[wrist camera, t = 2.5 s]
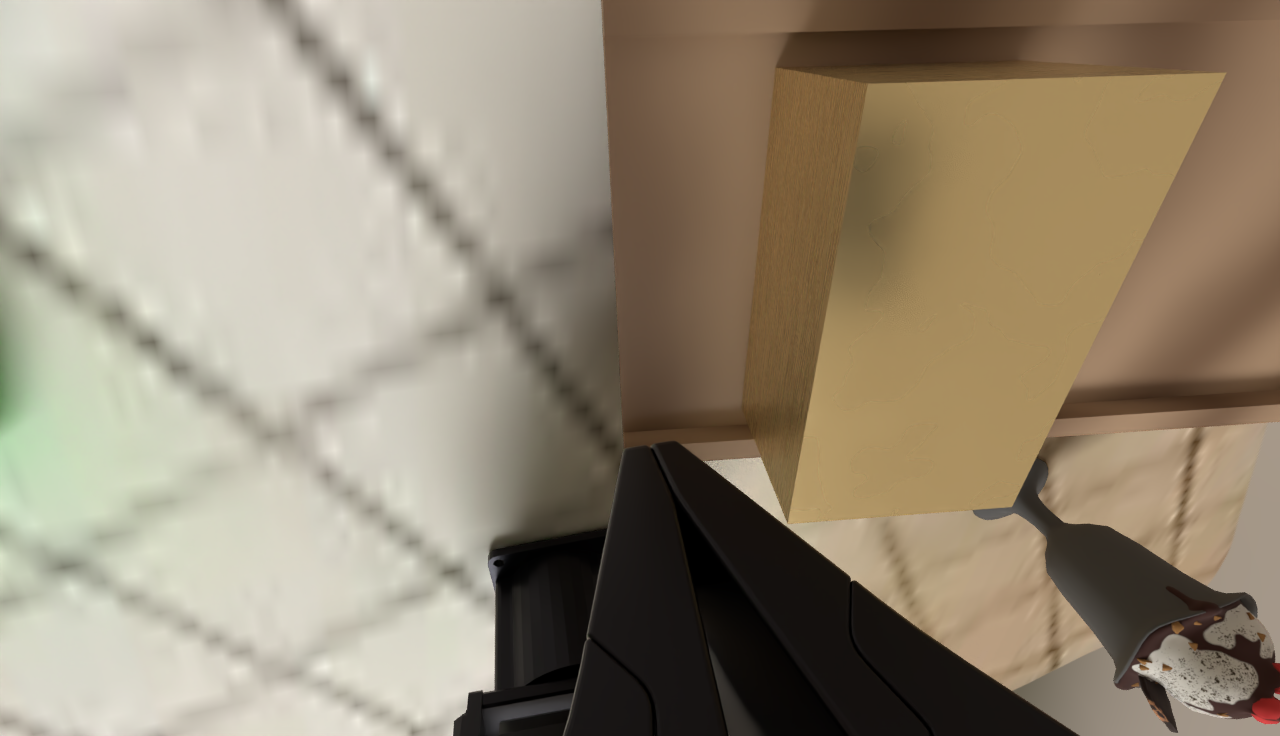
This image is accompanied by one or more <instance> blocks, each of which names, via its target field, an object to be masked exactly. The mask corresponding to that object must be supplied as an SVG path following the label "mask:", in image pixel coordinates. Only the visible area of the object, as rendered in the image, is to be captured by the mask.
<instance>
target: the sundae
mask: <svg viewBox="0 0 1280 736" xmlns="http://www.w3.org/2000/svg"><path fill="white" fill-rule="evenodd" d="M1047 477H1048V468H1047V465H1046V463H1045V462H1043V461H1042V460H1040V459H1035V461H1034V463H1033V465H1032V467H1031V469H1030V471H1029V473H1028V475H1027V477H1026V479H1025V481H1024V483H1023V486H1022V488H1021V490H1020V492H1019V494H1018V496H1017V498H1016V500H1015V502H1014V504H1013V506H1012V507H1005V508H992V509H979V510H973V512H974V514H975V515H976V516H978V517H979V518H982V519H985V520H993V519H999V518H1002V517H1005V516H1008V515H1011V514H1013V513H1015V514H1018V515H1020V516H1021V517H1023V518H1025V519H1026V520H1027V521H1029V522H1030V523H1031V524H1033V525H1034V526H1035V527H1036V528H1037V529H1038V530H1039V531H1040V532H1041V533H1042V534H1044V535H1045V536H1046V539H1047V548H1046V552H1045V559H1046V568H1047V573H1048V575H1049V576H1050V577H1051V579H1052V580H1053V582H1054V583H1055V585H1056V586H1057V587H1058V589H1059V590H1060V592H1061V593H1062V595H1063V596H1064V597H1065V598H1066V600H1067V601H1068V602H1069V603H1070V604H1071V606H1072V607H1073V608H1074V609H1075V610H1076V612H1077V613H1078V614H1079V615H1080V616H1081V618H1082V619H1083V620H1084V621H1085V623H1086V624H1087V625H1088V626H1089V627H1090V629H1091V630H1092V631H1093V632H1094V634H1095V635H1096V636H1097V638H1098V639H1099V641H1100V642H1101V643H1102V645H1103V646H1104V647H1105V649H1106V650H1107V651H1108V653H1109V654H1110V656H1111V657H1112V659H1113V660H1114V663H1115V666H1116V671H1115V676H1114V680H1113V681H1114V684H1115V686H1116V687H1117V688H1119V689H1122V690H1129V689H1132V688H1135V687H1137V688H1141V689H1142V691H1143V693H1144V694H1145V696H1146V698H1147V700H1148V702H1149V704H1150V706H1151V708H1152V710H1153V711H1154V713H1155V714H1156V715H1157V716H1158V717H1159V718H1160V719H1161V720H1162V721H1163V722H1164V723H1165V724H1166V726H1167V727H1168V728H1169V730H1170V731H1171V732H1176V733H1178V731H1177V727H1176V722H1175V719H1174V716H1173V713H1172V709H1171V705H1170V701H1169V699H1168V697H1167V694H1166V691H1165V689H1166V690H1167V691H1168V692H1169V694H1170V695H1171V696H1173V697H1174V698H1175V699H1177V700H1178V701H1180V702H1181V703H1183V704H1184V705H1185V706H1187V707H1188V708H1190V709H1191V710H1192V711H1195V712H1199V713H1204V714H1207V715H1211V716H1215V717H1219V718H1225V719H1242V718H1248V717H1252V716H1253V717H1254V718H1255V719H1256V720H1257V721H1259V722H1262V723H1264V724H1277V723H1279V722H1280V700H1278V699H1277V698H1275V697H1274V693H1276V694H1280V663H1275V650H1274V645H1273V642H1272V639H1271V637H1270V635H1269V633H1268V631H1267V630H1266V628H1265V627H1264V625H1263V624H1262V623H1261V622H1260V621H1259V620H1258V619H1257V606H1256V602H1255V600H1254V599H1253V598H1252V597H1251V596H1250V595H1248V594H1247V593H1245V592H1244V593H1227V594H1226V593H1222V592H1218V591H1214V590H1213V589H1211V588H1209V587H1207V586H1205V585H1204V584H1202V583H1200V582H1198V581H1196V580H1195V579H1193V578H1191V577H1189V576H1188V575H1186V574H1184V573H1183V572H1181V571H1179V570H1178V569H1176V568H1175V567H1173V566H1172V565H1170V564H1169V563H1167V562H1166V561H1164V560H1163V559H1161V558H1160V557H1158V556H1157V555H1155V554H1154V553H1152V552H1151V551H1149V550H1148V549H1146V548H1145V547H1143V546H1142V545H1140V544H1138V543H1137V542H1135V541H1133V540H1131V539H1130V538H1128V537H1126V536H1124V535H1122V534H1121V533H1119V532H1117V531H1115V530H1114V529H1112V528H1110V527H1108V526H1101V525H1094V524H1068V523H1064V522H1063V521H1061V520H1060V519H1059V518H1058V517H1057V516H1055V515H1054V514H1053V513H1052V512H1051V511H1050V510H1049V509H1048V508H1047V507H1046V506H1045V505H1044V504H1043V503H1042V501H1041V500H1040V499H1039V497H1038V494H1039V493H1040V491H1041V490H1042V488H1043V487H1044V485H1045V483H1046V480H1047Z"/></svg>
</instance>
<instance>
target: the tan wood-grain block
mask: <svg viewBox="0 0 1280 736" xmlns="http://www.w3.org/2000/svg"><path fill="white" fill-rule="evenodd" d="M1225 75H1226V73H1224V72H1207V71H1190V70H1174V69H1157V68H1140V67H1123V66H1106V65H1089V64H1072V63H1056V62H1039V61H1022V60H1013V61H979V62H945V63H910V64H876V65H842V66H808V67H775V76H774V86H773V96H772V106H771V116H770V126H769V136H768V147H767V157H766V167H765V177H764V187H763V197H762V207H761V217H760V227H759V237H758V247H757V258H756V268H755V278H754V288H753V298H752V308H751V318H750V328H749V338H748V348H747V358H746V369H745V379H744V389H743V399H742V411H743V413H744V416H745V418H746V421H747V423H748V426H749V428H750V431H751V433H752V436H753V438H754V441H755V443H756V446H757V448H758V451H759V453H760V456H761V458H762V461H763V463H764V466H765V468H766V471H767V473H768V476H769V478H770V481H771V483H772V486H773V488H774V491H775V493H776V496H777V498H778V501H779V503H780V506H781V508H782V511H783V513H784V516H785V518H786V521H787V523H788V524H793V523H806V522H820V521H833V520H846V519H859V518H873V517H886V516H899V515H912V514H926V513H939V512H952V511H966V510H979V509H992V508H1005V507H1012V506H1013V504H1014V502H1015V500H1016V498H1017V496H1018V494H1019V492H1020V490H1021V488H1022V486H1023V483H1024V481H1025V479H1026V477H1027V475H1028V473H1029V471H1030V469H1031V467H1032V465H1033V463H1034V461H1035V459H1036V457H1037V455H1038V453H1039V451H1040V449H1041V447H1042V445H1043V443H1044V441H1045V439H1046V437H1047V435H1048V433H1049V431H1050V429H1051V427H1052V425H1053V423H1054V421H1055V419H1056V417H1057V415H1058V413H1059V411H1060V409H1061V407H1062V405H1063V403H1064V401H1065V399H1066V397H1067V395H1068V393H1069V390H1070V388H1071V386H1072V384H1073V382H1074V380H1075V378H1076V376H1077V374H1078V372H1079V370H1080V368H1081V366H1082V364H1083V362H1084V360H1085V358H1086V356H1087V354H1088V352H1089V350H1090V348H1091V346H1092V344H1093V342H1094V340H1095V338H1096V336H1097V334H1098V332H1099V330H1100V328H1101V326H1102V324H1103V322H1104V320H1105V318H1106V316H1107V314H1108V312H1109V310H1110V308H1111V306H1112V304H1113V302H1114V299H1115V297H1116V295H1117V293H1118V291H1119V289H1120V287H1121V285H1122V283H1123V281H1124V279H1125V277H1126V275H1127V273H1128V271H1129V269H1130V267H1131V265H1132V263H1133V261H1134V259H1135V257H1136V255H1137V253H1138V251H1139V249H1140V247H1141V245H1142V243H1143V241H1144V239H1145V237H1146V235H1147V233H1148V231H1149V229H1150V227H1151V225H1152V223H1153V221H1154V219H1155V217H1156V215H1157V213H1158V211H1159V208H1160V206H1161V204H1162V202H1163V200H1164V198H1165V196H1166V194H1167V192H1168V190H1169V188H1170V186H1171V184H1172V182H1173V180H1174V178H1175V176H1176V174H1177V172H1178V170H1179V168H1180V166H1181V164H1182V162H1183V160H1184V158H1185V156H1186V154H1187V152H1188V150H1189V148H1190V146H1191V144H1192V142H1193V140H1194V138H1195V136H1196V134H1197V132H1198V130H1199V128H1200V126H1201V124H1202V122H1203V120H1204V118H1205V115H1206V113H1207V111H1208V109H1209V107H1210V105H1211V103H1212V101H1213V99H1214V97H1215V95H1216V93H1217V91H1218V89H1219V87H1220V85H1221V83H1222V81H1223V79H1224V77H1225Z"/></svg>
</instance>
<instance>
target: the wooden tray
mask: <svg viewBox="0 0 1280 736" xmlns="http://www.w3.org/2000/svg"><path fill="white" fill-rule="evenodd" d="M601 6H602V26H603V46H604V66H605V86H606V106H607V127H608V147H609V167H610V187H611V207H612V227H613V247H614V267H615V287H616V308H617V328H618V348H619V368H620V388H621V408H622V428H623V444H624V449H625V448H628V447H634V446H641V445H648V446H649V447H650V446H651V445H652V444H654V443H659V442H665V441H672V440H673V441H677V442H679V443H680V444H681V445H683V446H684V447H685V448H687V449H688V450H689V451H690V452H692V453H693V454H694V455H696V456H697V457H698V458H699V459H701V460H702V461H710V460H725V459H740V458H754V457H761V456H760V453H759V451H758V448H757V446H756V443H755V441H754V438H753V436H752V433H751V431H750V428H749V426H748V423H747V421H746V418H745V416H744V413H743V411H742V399H743V389H744V379H745V369H746V358H747V348H748V338H749V328H750V318H751V308H752V298H753V288H754V278H755V268H756V258H757V247H758V237H759V227H760V217H761V207H762V197H763V187H764V177H765V167H766V157H767V147H768V136H769V126H770V116H771V106H772V96H773V86H774V76H775V67H808V66H842V65H876V64H910V63H945V62H979V61H1013V60H1022V61H1039V62H1056V63H1072V64H1089V65H1106V66H1123V67H1140V68H1157V69H1174V70H1190V71H1207V72H1224V73H1226V75H1225V77H1224V79H1223V81H1222V83H1221V85H1220V87H1219V89H1218V91H1217V93H1216V95H1215V97H1214V99H1213V101H1212V103H1211V105H1210V107H1209V109H1208V111H1207V113H1206V115H1205V118H1204V120H1203V122H1202V124H1201V126H1200V128H1199V130H1198V132H1197V134H1196V136H1195V138H1194V140H1193V142H1192V144H1191V146H1190V148H1189V150H1188V152H1187V154H1186V156H1185V158H1184V160H1183V162H1182V164H1181V166H1180V168H1179V170H1178V172H1177V174H1176V176H1175V178H1174V180H1173V182H1172V184H1171V186H1170V188H1169V190H1168V192H1167V194H1166V196H1165V198H1164V200H1163V202H1162V204H1161V206H1160V208H1159V211H1158V213H1157V215H1156V217H1155V219H1154V221H1153V223H1152V225H1151V227H1150V229H1149V231H1148V233H1147V235H1146V237H1145V239H1144V241H1143V243H1142V245H1141V247H1140V249H1139V251H1138V253H1137V255H1136V257H1135V259H1134V261H1133V263H1132V265H1131V267H1130V269H1129V271H1128V273H1127V275H1126V277H1125V279H1124V281H1123V283H1122V285H1121V287H1120V289H1119V291H1118V293H1117V295H1116V297H1115V299H1114V302H1113V304H1112V306H1111V308H1110V310H1109V312H1108V314H1107V316H1106V318H1105V320H1104V322H1103V324H1102V326H1101V328H1100V330H1099V332H1098V334H1097V336H1096V338H1095V340H1094V342H1093V344H1092V346H1091V348H1090V350H1089V352H1088V354H1087V356H1086V358H1085V360H1084V362H1083V364H1082V366H1081V368H1080V370H1079V372H1078V374H1077V376H1076V378H1075V380H1074V382H1073V384H1072V386H1071V388H1070V390H1069V393H1068V395H1067V397H1066V399H1065V401H1064V403H1063V405H1062V407H1061V409H1060V411H1059V413H1058V415H1057V417H1056V419H1055V421H1054V423H1053V425H1052V427H1051V429H1050V431H1049V433H1048V435H1047V437H1062V436H1077V435H1091V434H1106V433H1121V432H1135V431H1150V430H1165V429H1179V428H1194V427H1209V426H1223V425H1238V424H1253V423H1267V422H1280V0H601ZM1047 437H1046V438H1047Z"/></svg>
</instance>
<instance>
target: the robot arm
mask: <svg viewBox="0 0 1280 736" xmlns="http://www.w3.org/2000/svg"><path fill="white" fill-rule="evenodd" d="M488 567H489V571H490V575H491V578H492V582H493V586H494V590H495V691H490V692H484V693H483V690H481V691H475V692H469V695H468V705H467V710H466V713H464V714H462V716H460V717H459V718H458V719H456V720H455V721H454V732H453V736H1079V735H1078V734H1076V733H1075V732H1073V731H1072V730H1070V729H1069V728H1067V727H1066V726H1064V725H1063V724H1061V723H1059V722H1058V721H1057V720H1055V719H1053V718H1052V717H1051V716H1049V715H1048V714H1046V713H1044V712H1043V711H1041V710H1040V709H1038V708H1037V707H1035V706H1034V705H1032V704H1031V703H1029V702H1028V701H1026V700H1025V699H1023V698H1022V697H1020V696H1019V695H1017V694H1015V693H1014V692H1013V691H1011V690H1010V689H1008V688H1006V687H1005V686H1003V685H1002V684H1000V683H999V682H997V681H996V680H994V679H993V678H991V677H990V676H988V675H987V674H985V673H984V672H982V671H981V670H979V669H978V668H976V667H975V666H973V665H971V664H970V663H968V662H967V661H965V660H964V659H963V658H961V657H960V656H958V655H957V654H955V653H954V652H952V651H951V650H949V649H948V648H946V647H945V646H944V645H942V644H941V643H939V642H938V641H936V640H935V639H933V638H932V637H930V636H929V635H927V634H926V633H925V632H923V631H922V630H920V629H919V628H917V627H916V626H915V625H913V624H912V623H911V622H909V621H908V620H907V619H905V618H904V617H903V616H901V615H900V614H899V613H897V612H896V611H895V610H893V609H892V608H891V607H889V606H888V605H887V604H885V603H884V602H883V601H881V600H880V599H879V598H877V597H876V596H875V595H874V594H872V593H871V592H870V591H868V590H867V589H866V588H865V587H863V586H862V585H861V584H859V583H858V582H857V581H852V582H851V578H850V576H849V575H848V574H846V573H845V572H844V571H842V570H841V569H840V568H839V567H837V566H836V565H835V564H834V563H832V562H831V561H830V560H828V559H827V558H826V557H825V556H823V555H822V554H821V553H819V552H818V551H817V550H816V549H814V548H813V547H812V546H811V545H809V544H808V543H807V542H805V541H804V540H803V539H802V538H800V537H799V536H798V535H796V534H795V533H794V532H793V531H791V530H790V529H789V528H788V527H786V526H785V525H784V524H782V523H781V522H780V521H779V520H777V519H776V518H775V517H773V516H772V515H771V514H770V513H768V512H767V511H766V510H765V509H763V508H762V507H761V506H759V505H758V504H757V503H756V502H754V501H753V500H752V499H750V498H749V497H748V496H747V495H745V494H744V493H743V492H742V491H740V490H739V489H738V488H736V487H735V486H734V485H733V484H731V483H730V482H729V481H727V480H726V479H725V478H724V477H722V476H721V475H720V474H719V473H717V472H716V471H715V470H713V469H712V468H711V467H710V466H708V465H707V464H706V463H704V462H703V461H702V460H701V459H699V458H698V457H697V456H696V455H694V454H693V453H692V452H690V451H689V450H688V449H687V448H685V447H684V446H683V445H681V444H680V443H679V442H677V441H673V440H672V441H665V442H659V443H654V444H652V445H651V446H650V447H649V446H648V445H641V446H634V447H628V448H625V449H624V450H623V452H622V457H621V462H620V467H619V472H618V477H617V483H616V488H615V493H614V498H613V503H612V508H611V513H610V518H609V523H608V529H604V530H598V531H593V532H588V533H582V534H577V535H572V536H566V537H561V538H556V539H550V540H545V541H540V542H534V543H529V544H524V545H518V546H513V547H508V548H502V549H497V550H494V551H492V552H491V553H490V554H489V555H488ZM728 733H729V734H728Z"/></svg>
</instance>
